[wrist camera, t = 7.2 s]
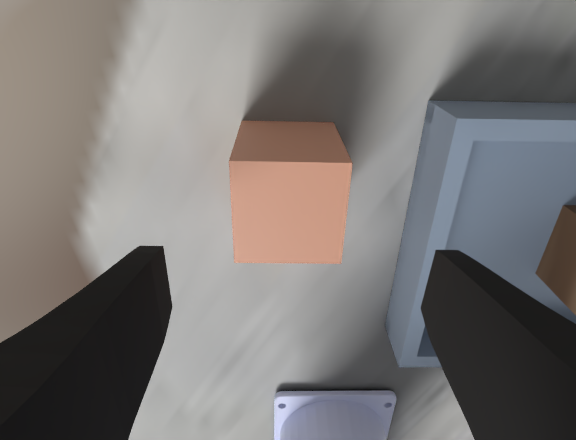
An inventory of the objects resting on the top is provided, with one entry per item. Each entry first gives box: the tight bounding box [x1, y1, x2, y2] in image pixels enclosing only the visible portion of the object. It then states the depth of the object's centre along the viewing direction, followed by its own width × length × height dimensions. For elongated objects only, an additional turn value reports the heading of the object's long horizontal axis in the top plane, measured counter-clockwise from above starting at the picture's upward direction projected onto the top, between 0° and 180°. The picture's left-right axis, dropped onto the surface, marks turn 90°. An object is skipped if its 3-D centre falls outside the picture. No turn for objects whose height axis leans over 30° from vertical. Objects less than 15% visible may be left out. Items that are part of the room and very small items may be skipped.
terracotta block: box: [229, 121, 353, 264], centre depth 16 cm, size 4×4×5 cm
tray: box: [385, 101, 576, 367], centre depth 19 cm, size 13×13×3 cm
